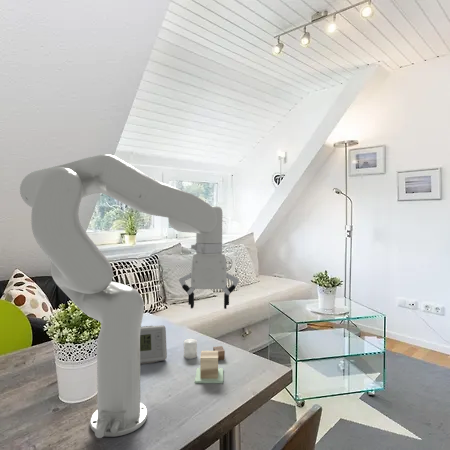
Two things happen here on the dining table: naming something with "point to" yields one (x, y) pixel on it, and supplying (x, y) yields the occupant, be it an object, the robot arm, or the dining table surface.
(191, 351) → the white capsule
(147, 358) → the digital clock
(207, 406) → the dining table surface
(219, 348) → the walnut box
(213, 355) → the beech block
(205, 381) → the felt pad
